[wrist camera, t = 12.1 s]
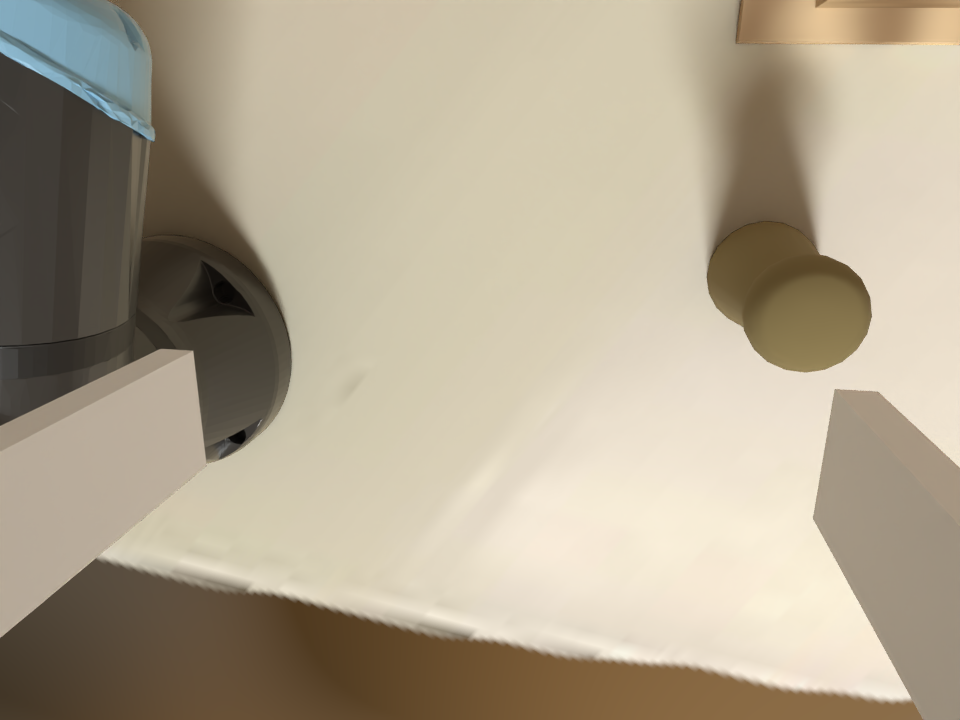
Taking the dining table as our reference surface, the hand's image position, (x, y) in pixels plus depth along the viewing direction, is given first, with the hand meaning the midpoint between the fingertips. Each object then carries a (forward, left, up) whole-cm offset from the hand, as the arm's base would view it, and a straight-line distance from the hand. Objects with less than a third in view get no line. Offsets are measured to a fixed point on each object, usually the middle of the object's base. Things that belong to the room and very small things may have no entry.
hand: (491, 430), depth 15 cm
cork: (+11, -1, -29) cm, 31 cm away
